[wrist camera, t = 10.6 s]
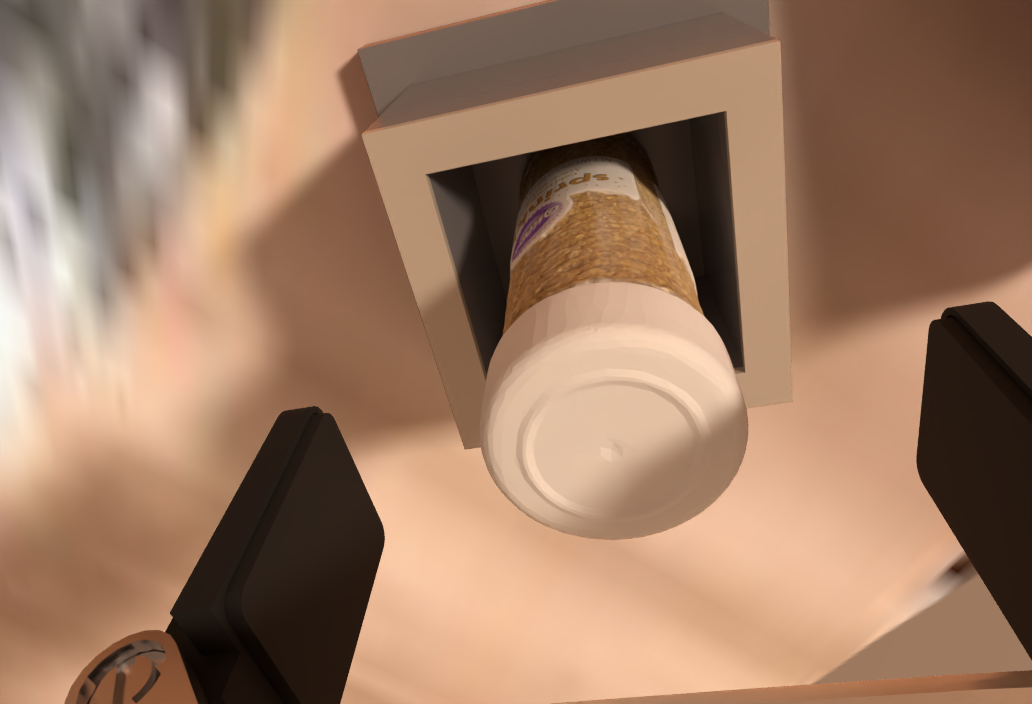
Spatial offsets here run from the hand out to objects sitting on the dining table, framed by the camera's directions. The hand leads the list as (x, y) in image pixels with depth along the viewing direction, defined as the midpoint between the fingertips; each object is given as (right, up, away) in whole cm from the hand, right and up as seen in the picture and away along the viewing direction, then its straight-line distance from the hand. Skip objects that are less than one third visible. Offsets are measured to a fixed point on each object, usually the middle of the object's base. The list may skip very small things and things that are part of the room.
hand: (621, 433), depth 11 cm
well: (+1, +7, +13) cm, 15 cm away
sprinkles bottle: (+1, +7, +12) cm, 14 cm away
